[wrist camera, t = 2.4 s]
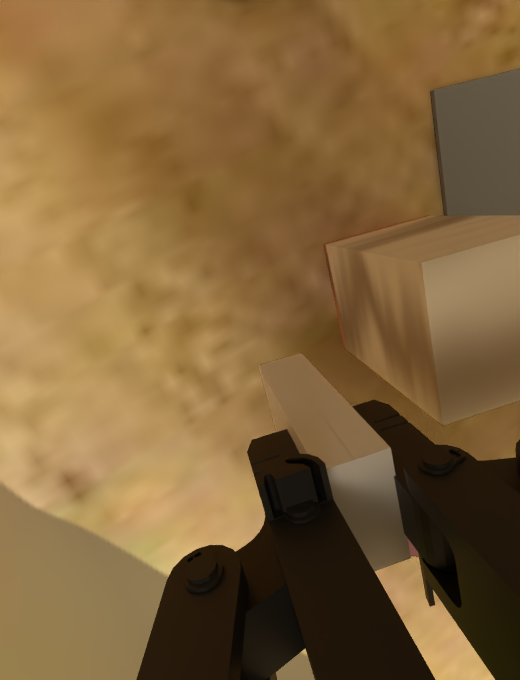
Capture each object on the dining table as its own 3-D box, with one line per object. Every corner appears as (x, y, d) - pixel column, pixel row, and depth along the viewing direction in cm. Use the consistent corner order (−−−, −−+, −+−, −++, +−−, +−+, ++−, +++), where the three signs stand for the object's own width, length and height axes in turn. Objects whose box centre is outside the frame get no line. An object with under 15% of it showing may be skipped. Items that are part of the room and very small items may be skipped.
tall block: (323, 244, 23) (421, 262, 14) (426, 215, 24) (587, 214, 15) (343, 347, 25) (442, 425, 16) (439, 318, 26) (590, 377, 16)
